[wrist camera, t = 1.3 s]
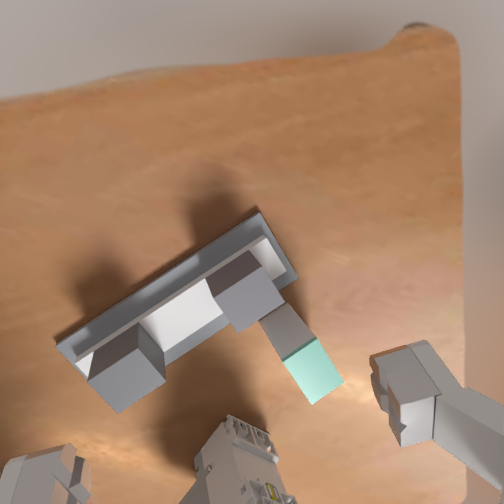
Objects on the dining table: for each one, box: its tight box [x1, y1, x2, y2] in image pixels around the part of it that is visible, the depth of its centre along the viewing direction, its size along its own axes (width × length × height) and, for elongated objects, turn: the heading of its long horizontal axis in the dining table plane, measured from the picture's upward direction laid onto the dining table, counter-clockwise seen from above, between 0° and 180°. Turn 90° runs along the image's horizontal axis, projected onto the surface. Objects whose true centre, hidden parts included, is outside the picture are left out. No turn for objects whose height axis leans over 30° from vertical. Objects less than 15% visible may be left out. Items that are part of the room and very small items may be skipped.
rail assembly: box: [55, 212, 298, 414], centre depth 47 cm, size 10×28×8 cm, turn 121°
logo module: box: [259, 302, 344, 405], centre depth 50 cm, size 4×7×10 cm, turn 31°
